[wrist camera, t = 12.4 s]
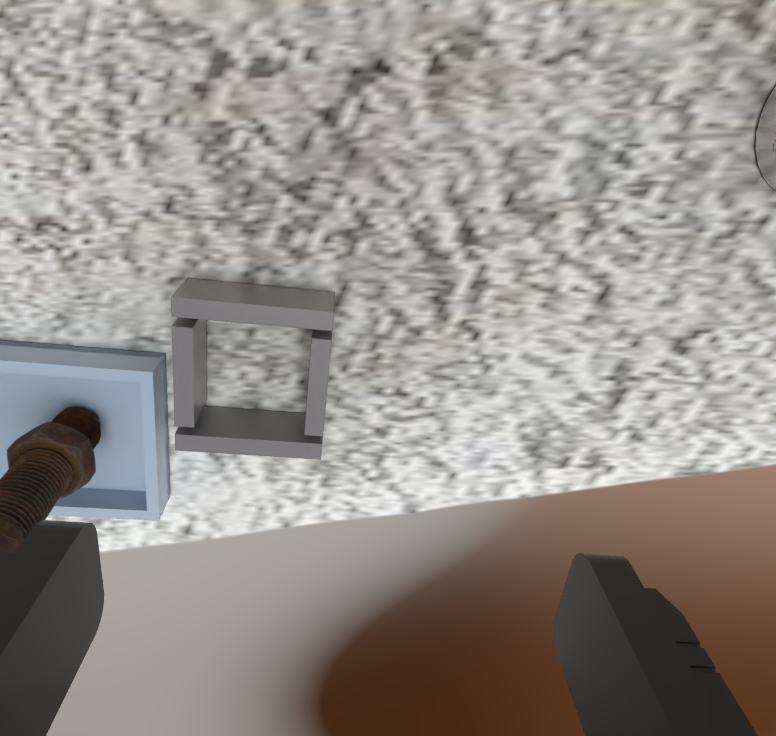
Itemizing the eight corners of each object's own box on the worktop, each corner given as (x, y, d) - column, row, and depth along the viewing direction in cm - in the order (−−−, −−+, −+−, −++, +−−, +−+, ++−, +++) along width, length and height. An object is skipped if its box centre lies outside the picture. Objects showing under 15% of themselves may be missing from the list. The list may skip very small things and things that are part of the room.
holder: (334, 292, 39) (334, 312, 35) (322, 428, 43) (320, 459, 39) (187, 277, 38) (171, 297, 34) (189, 419, 42) (175, 450, 38)
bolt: (26, 434, 41) (-131, 604, 27) (51, 376, 39) (-103, 526, 25) (109, 468, 42) (0, 645, 29) (136, 414, 41) (34, 573, 27)
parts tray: (165, 353, 40) (152, 372, 37) (170, 494, 44) (159, 520, 42) (-52, 335, 38) (-82, 353, 35) (-24, 484, 43) (-48, 510, 40)
